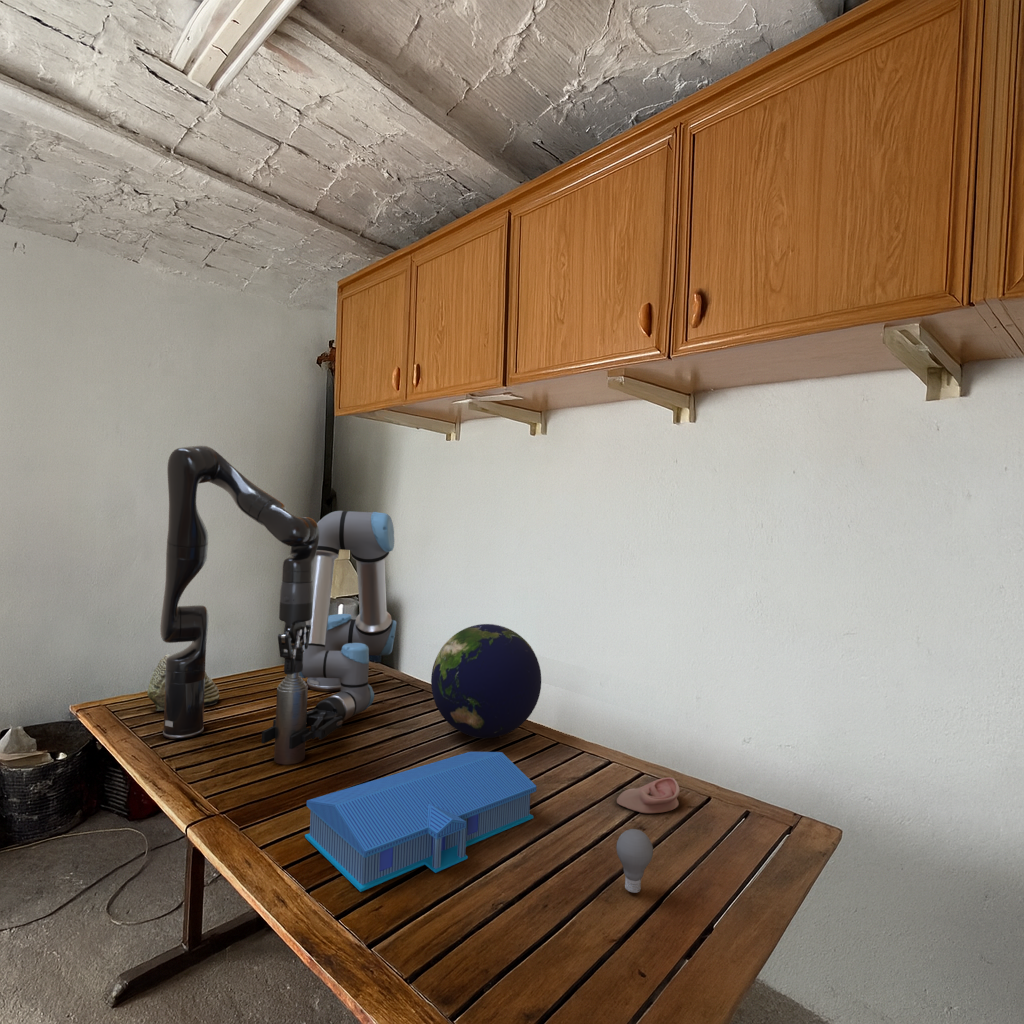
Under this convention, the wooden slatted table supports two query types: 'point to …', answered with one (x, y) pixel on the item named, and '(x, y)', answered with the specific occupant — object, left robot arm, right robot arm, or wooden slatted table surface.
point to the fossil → (158, 687)
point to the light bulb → (634, 857)
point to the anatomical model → (652, 796)
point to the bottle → (290, 718)
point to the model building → (419, 816)
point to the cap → (297, 666)
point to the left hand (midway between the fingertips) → (293, 671)
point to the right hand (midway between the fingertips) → (276, 740)
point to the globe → (486, 681)
